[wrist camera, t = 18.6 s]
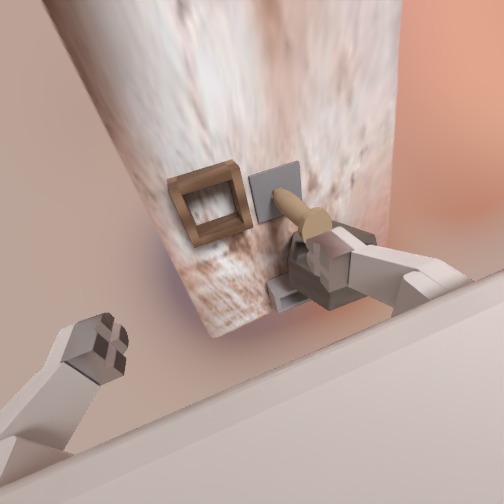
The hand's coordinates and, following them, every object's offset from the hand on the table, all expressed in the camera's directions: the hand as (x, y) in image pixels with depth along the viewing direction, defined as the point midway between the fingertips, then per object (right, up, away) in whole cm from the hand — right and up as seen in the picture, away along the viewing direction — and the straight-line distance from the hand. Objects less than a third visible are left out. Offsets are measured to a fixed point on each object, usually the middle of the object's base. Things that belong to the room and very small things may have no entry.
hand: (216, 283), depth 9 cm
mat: (+6, +13, +37) cm, 40 cm away
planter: (+16, +4, +47) cm, 50 cm away
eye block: (-6, +11, +33) cm, 36 cm away
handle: (+7, +13, +36) cm, 39 cm away
